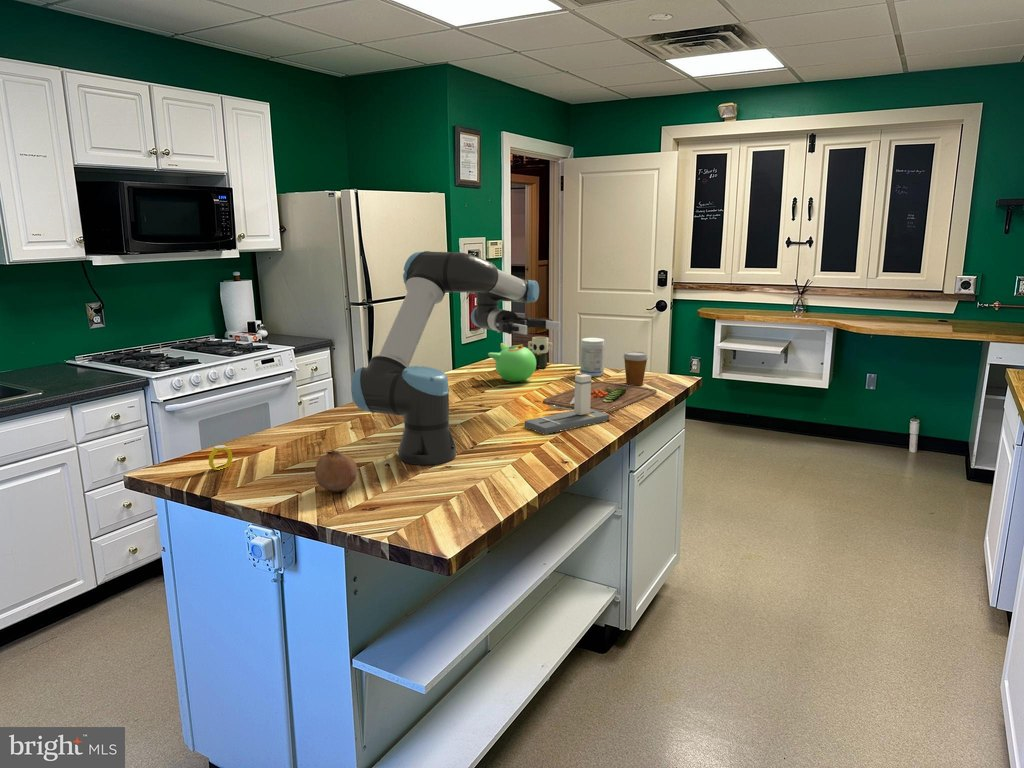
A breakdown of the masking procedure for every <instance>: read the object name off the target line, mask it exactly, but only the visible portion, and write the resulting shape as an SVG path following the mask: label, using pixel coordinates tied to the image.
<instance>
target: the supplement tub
mask: <svg viewBox="0 0 1024 768" xmlns="http://www.w3.org/2000/svg"><path fill="white" fill-rule="evenodd" d="M580 343H581V344H580V375H582V374H586V375H590V376H591V378H592V377H594V378H595V377H602V376H603V375H604V370H605V369H604V366H605V339H604V338H600V337H585V338H581V341H580Z"/></svg>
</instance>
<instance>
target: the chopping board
mask: <svg viewBox="0 0 1024 768" xmlns="http://www.w3.org/2000/svg"><path fill="white" fill-rule="evenodd" d="M657 391H658V390H656V389H654V388H649V387H644V386H641V385H628V384H627V383H626V384H625V383H617V382H607V381H591V401H590V409H592V410H596V411H599V412H606V413H608V412H609V413H610V412H614V411H616V410H618V411H620V410H619V409H621V408H623V409H625V408H627V407H629V406H628V405H630V406H632V405H634V404H636V403H638V402H641V401H643V400H645V399H648V398H650V397H651V396H654V395H657ZM574 400H575V387H574V388H571V389H568V390H565V391H563V392H560V393H556V394H554V395H552V396H549V397H545V398H543V401H542V403H543V404H545V405H548V407H549V408H554V407H556V408H555V409H559V408H562V409H561V410H565V409H568V410H567V411H571V410H574V409H572V408H574ZM633 403H634V404H633ZM549 404H550V405H549ZM631 404H632V405H631ZM560 406H562V407H560ZM616 406H617V407H616ZM626 406H627V407H626ZM566 407H569V408H566ZM613 407H615V408H613ZM624 407H625V408H624ZM611 408H613V409H611ZM609 409H611V410H609ZM621 410H622V409H621ZM616 412H617V411H616ZM614 413H615V412H614ZM610 414H611V413H610Z"/></svg>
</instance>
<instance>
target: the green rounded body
mask: <svg viewBox="0 0 1024 768" xmlns="http://www.w3.org/2000/svg"><path fill="white" fill-rule="evenodd" d="M500 349H501V351H499V352H493V351H492V352H488V353H487V355H488V357H490V358H491V359H493V360H495V371H496V373H497V374H498V375H499V376H500V377H501V378H502V379H503V380H505V381H508V382H517V383H518V382H523V381H525V380H527V379H529V378H531V377H532V376H533V375H534V373H535V371H536V369H537V367H536V359H535V356H534V355H535V353H534V352H532V350H531V349H529V348H528V347H525V346H524V344H517V345H511V346H509V345H507V344H506V343H504V342H501V343H500Z"/></svg>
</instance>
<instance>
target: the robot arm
mask: <svg viewBox="0 0 1024 768" xmlns="http://www.w3.org/2000/svg"><path fill="white" fill-rule="evenodd" d="M403 272H404V273H403V274H402V276H403V277H402V278H403V279H402V280H403V283H404V285H405V290H406V292H407V293H406V295H405V297H404V299H403V301H402V304H401V305H400V308H399V311H398V313H397V314H396V317H395V319H394V321H393V323H392V325H391V328H390V330H389V332H388V335H387V336H386V339H385V341H384V343H383V345H382V348H381V350H380V352H379V354H377V355H373V356H372V357H371V358H370V360H369V362H368V365H367V366H366V367H365V366H362V367H359V368H357V369H356V370H355V371H354V373H353V375H352V378H351V384H350V390H351V398H352V400H353V403H354V404H355V405H356V407H357V408H358V409H360V411H365V412H370V413H372V414H375V413H376V414H386V415H394V416H401V417H402V416H403V420H404V423H403V424H404V425H403V426H404V430H403V432H402V436H401V439H400V442H399V447H398V451H397V452H398V459H399V461H401V462H404V463H406V464H411V465H419V466H420V465H421V466H428V465H439V464H444V463H448V462H450V461H452V460H454V459H455V458H456V456H457V449H456V447H457V446H456V444H455V441H454V438H453V435H452V432H451V429H450V421H449V420H450V416H449V415H450V411H449V410H450V409H449V408H450V407H449V406H450V405H449V403H450V402H449V401H450V399H449V398H450V397H449V396H450V395H449V393H450V387H449V380H448V375H447V374H446V373H445V372H444V371H442V370H441V369H439V368H435V367H430V366H424V365H423V366H418V365H411V366H410V364H411V362H412V359H413V357H414V356H415V355H414V354H415V352H416V350H417V347H418V345H419V343H420V342H421V338H422V335H423V333H424V331H425V328H426V326H427V323H428V321H429V319H430V317H431V314H432V312H433V310H434V307H435V305H437V304H439V303H442V301H443V299H444V297H445V295H446V294H447V293H476V306H475V307H474V308H473V309H472V311H471V314H470V319H471V322H472V324H473V325H474V326H476V327H478V328H481V329H484V330H485V329H486V330H491V331H495V332H497V334H498V333H500V334H501V333H505V334H508V335H512V334H513V333H515V334H519V335H520V334H521V335H525V336H527V335H528V329H529V328H536V329H537V328H539V329H541V328H543V329H544V328H545V329H547V330H552V331H555V332H556V331H557V332H560V331H561V328H562V327H561V322H560V321H554V320H553V319H550V317H547V318H545V319H544V318H534V317H533V318H532V317H522V316H518V314H517V313H515V312H514V311H512V310H506V309H501V308H499V302H516V303H527V304H528V303H536V302H537V301H538V299H539V296H540V286H539V285H540V284H539V283H538V281H537V280H533V279H531V280H530V279H522V278H519V277H517V276H515V275H513V274H510V273H507V272H505V271H503V270H500V269H498V267H496V265H495V264H494V263H492V262H491V261H488V260H486V259H483V258H481V257H479V256H476V255H473V254H470V253H466V252H460V251H459V252H458V251H456V252H454V251H430V250H424V251H417V252H414V253H412V254H411V255H410V256H409V257H408V258H407V259H406V260H405V263H404V266H403Z"/></svg>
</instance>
